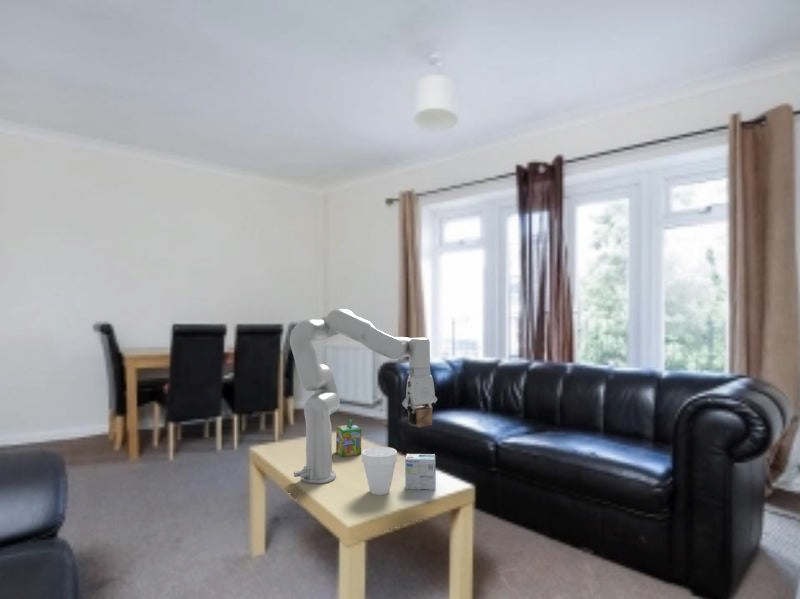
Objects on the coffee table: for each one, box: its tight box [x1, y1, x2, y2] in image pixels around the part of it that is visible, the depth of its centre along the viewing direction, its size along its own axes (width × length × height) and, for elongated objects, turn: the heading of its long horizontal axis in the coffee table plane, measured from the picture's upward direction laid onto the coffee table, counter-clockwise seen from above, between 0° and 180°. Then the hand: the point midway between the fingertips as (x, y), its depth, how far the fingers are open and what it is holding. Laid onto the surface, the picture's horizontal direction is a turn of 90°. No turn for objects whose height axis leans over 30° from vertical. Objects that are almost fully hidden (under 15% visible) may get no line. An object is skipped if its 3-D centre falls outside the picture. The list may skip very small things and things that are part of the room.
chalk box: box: [335, 418, 362, 458], centre depth 207 cm, size 9×9×15 cm
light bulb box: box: [404, 453, 437, 491], centre depth 166 cm, size 11×7×11 cm, turn 84°
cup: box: [361, 446, 398, 496], centre depth 162 cm, size 12×12×14 cm
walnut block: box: [408, 405, 433, 428], centre depth 167 cm, size 6×6×6 cm
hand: (420, 422), depth 167 cm, fingers closed on walnut block, 6 cm apart
